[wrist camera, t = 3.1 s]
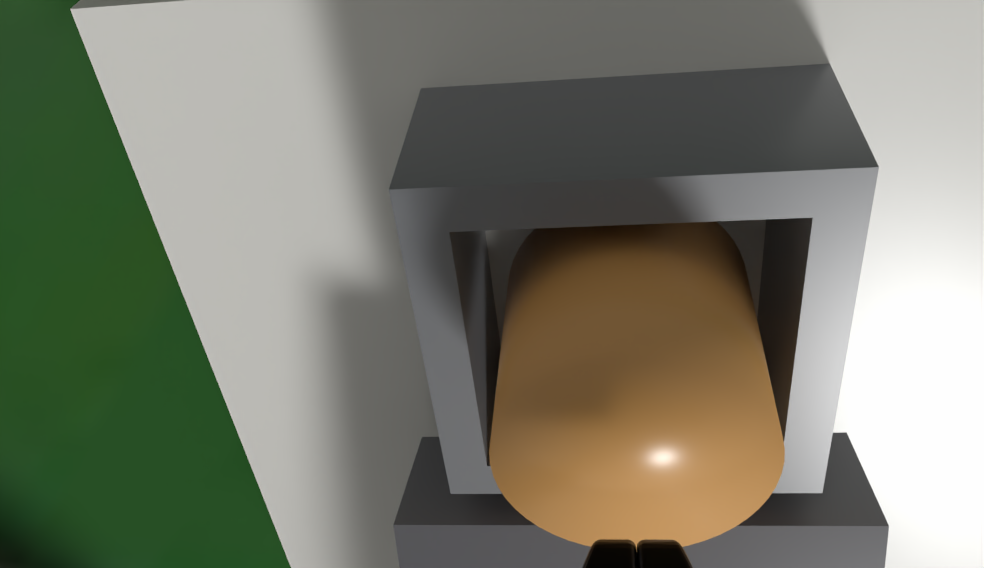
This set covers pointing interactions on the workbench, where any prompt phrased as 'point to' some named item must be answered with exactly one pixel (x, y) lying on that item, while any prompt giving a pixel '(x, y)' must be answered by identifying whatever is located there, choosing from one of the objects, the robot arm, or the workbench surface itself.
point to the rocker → (558, 562)
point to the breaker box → (560, 222)
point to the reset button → (633, 385)
